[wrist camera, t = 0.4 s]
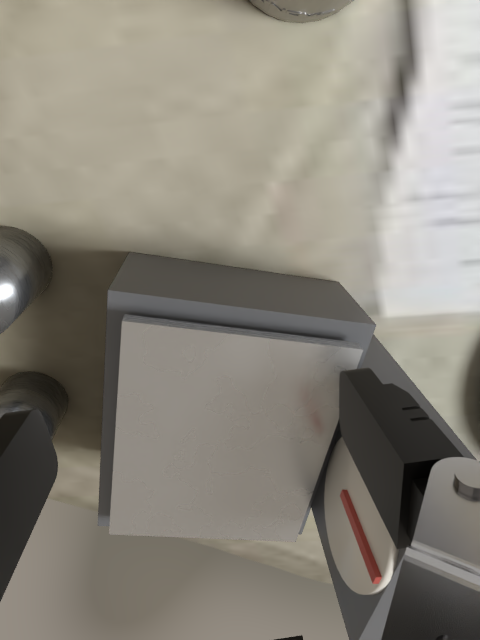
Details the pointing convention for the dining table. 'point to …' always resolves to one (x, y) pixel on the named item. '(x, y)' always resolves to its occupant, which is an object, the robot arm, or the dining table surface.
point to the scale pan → (221, 428)
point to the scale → (338, 468)
